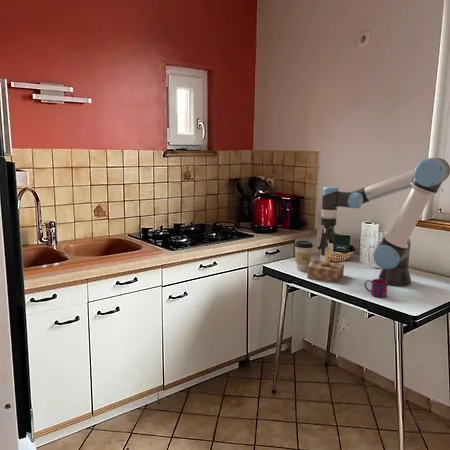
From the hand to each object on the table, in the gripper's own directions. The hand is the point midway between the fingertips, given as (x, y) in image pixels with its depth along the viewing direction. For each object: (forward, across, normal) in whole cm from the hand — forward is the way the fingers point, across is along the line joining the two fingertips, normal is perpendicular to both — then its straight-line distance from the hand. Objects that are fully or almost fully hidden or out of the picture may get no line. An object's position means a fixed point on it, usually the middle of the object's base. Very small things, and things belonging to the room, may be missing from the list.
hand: (326, 258), depth 233 cm
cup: (+10, +16, +28) cm, 33 cm away
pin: (+9, 0, 0) cm, 9 cm away
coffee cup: (+10, -7, -14) cm, 19 cm away
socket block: (+10, 0, 0) cm, 10 cm away
